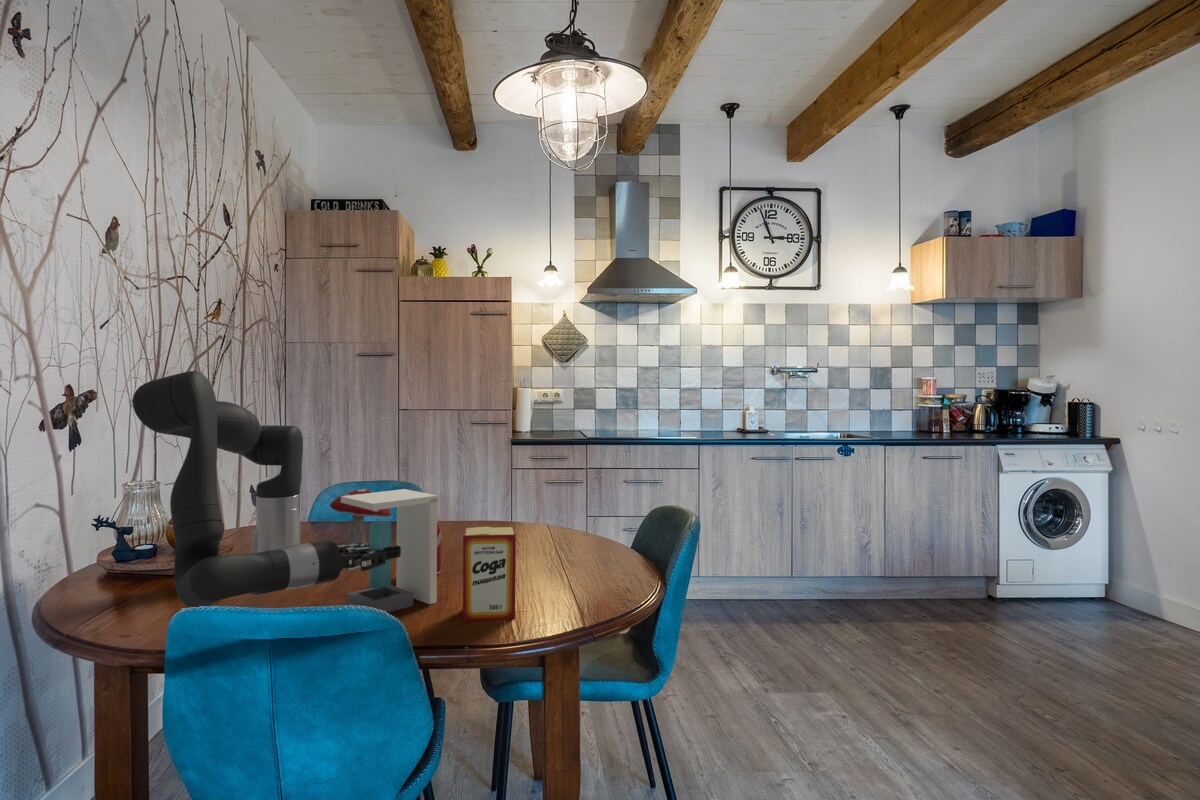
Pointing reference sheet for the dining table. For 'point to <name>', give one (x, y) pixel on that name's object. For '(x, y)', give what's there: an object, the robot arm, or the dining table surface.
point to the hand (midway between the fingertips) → (392, 549)
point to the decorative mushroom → (357, 516)
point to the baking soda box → (489, 573)
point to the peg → (380, 539)
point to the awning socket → (404, 549)
